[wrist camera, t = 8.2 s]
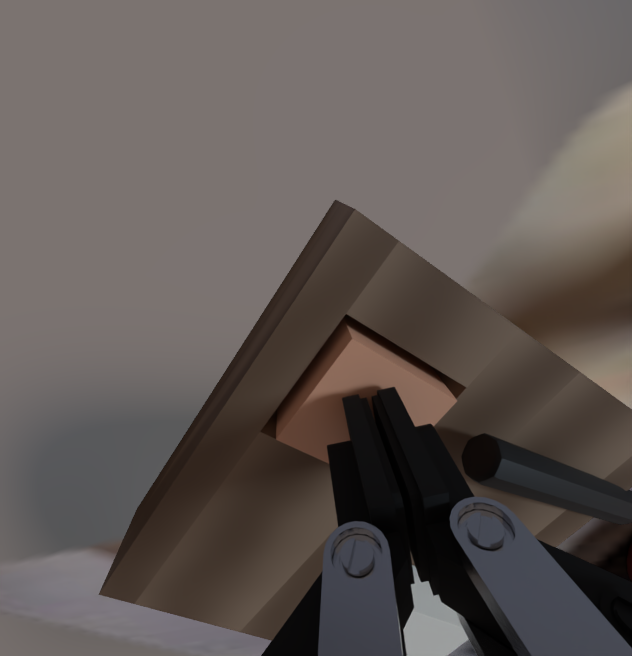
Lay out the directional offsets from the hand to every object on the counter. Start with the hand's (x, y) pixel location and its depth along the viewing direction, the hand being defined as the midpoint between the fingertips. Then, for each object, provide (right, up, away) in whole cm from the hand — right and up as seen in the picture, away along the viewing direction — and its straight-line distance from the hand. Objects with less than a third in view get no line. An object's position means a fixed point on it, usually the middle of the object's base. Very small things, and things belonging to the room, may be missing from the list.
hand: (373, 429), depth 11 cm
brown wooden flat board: (+1, -3, +7) cm, 7 cm away
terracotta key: (0, +1, +3) cm, 3 cm away
